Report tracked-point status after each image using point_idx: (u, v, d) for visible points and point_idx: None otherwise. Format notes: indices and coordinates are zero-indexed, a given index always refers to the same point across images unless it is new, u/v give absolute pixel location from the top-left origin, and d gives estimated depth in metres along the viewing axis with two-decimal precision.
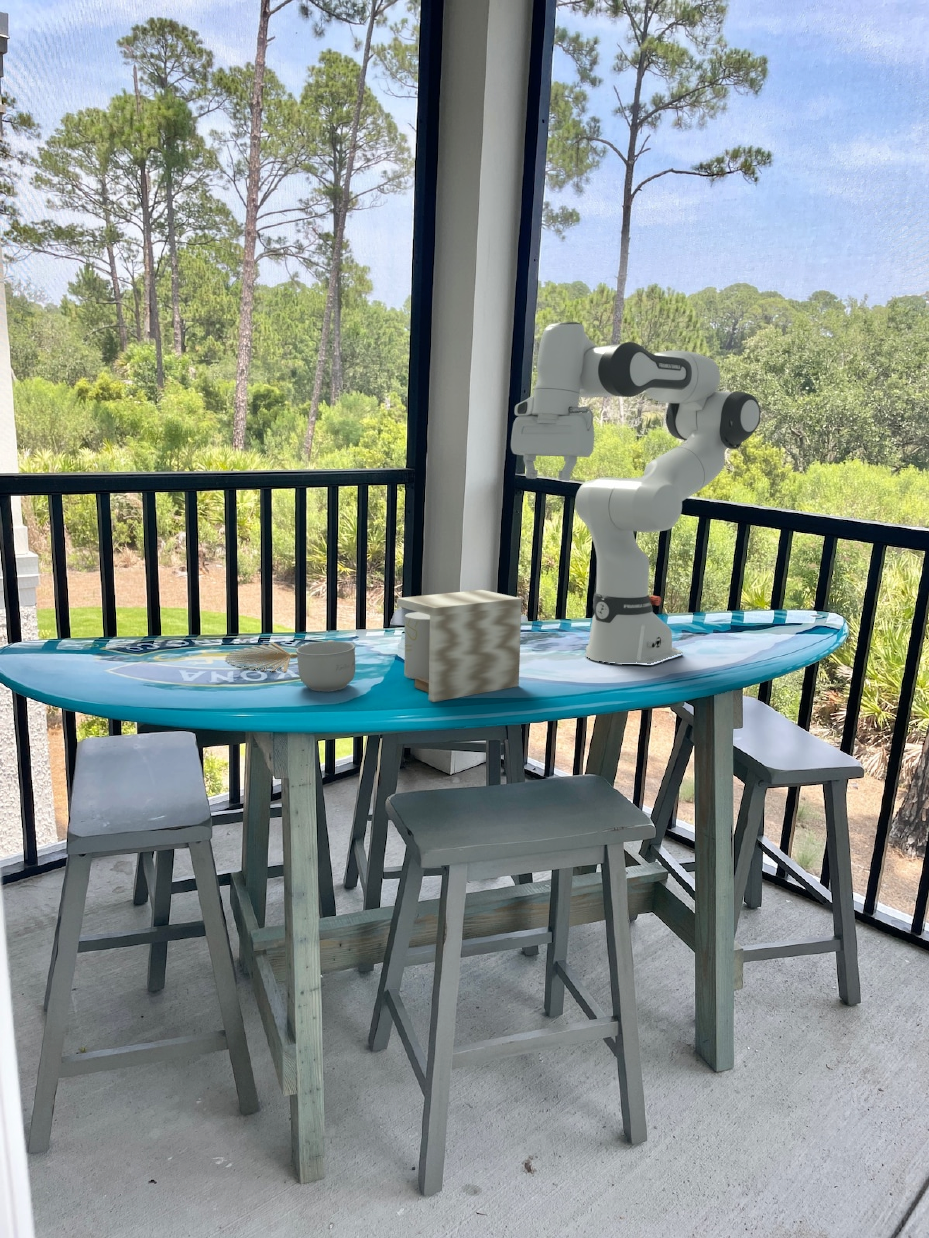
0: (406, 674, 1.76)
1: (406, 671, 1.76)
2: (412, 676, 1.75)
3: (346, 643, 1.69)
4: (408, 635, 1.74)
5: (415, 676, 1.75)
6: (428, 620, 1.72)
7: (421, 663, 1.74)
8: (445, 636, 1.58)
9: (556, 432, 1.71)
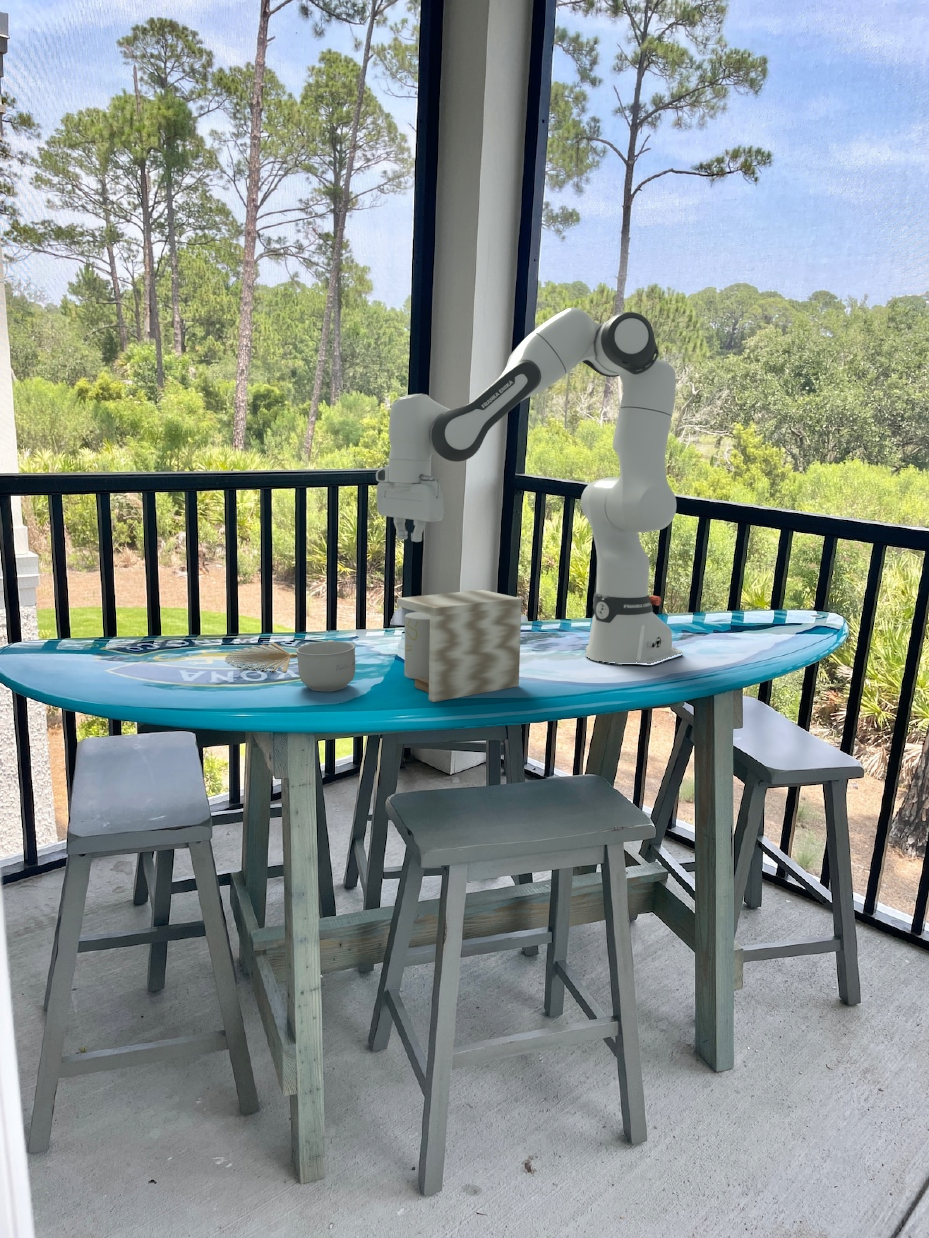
0: (406, 674, 1.76)
1: (406, 671, 1.76)
2: (412, 676, 1.75)
3: (346, 643, 1.69)
4: (408, 635, 1.74)
5: (415, 676, 1.75)
6: (428, 620, 1.72)
7: (421, 663, 1.74)
8: (445, 636, 1.58)
9: (411, 499, 1.84)
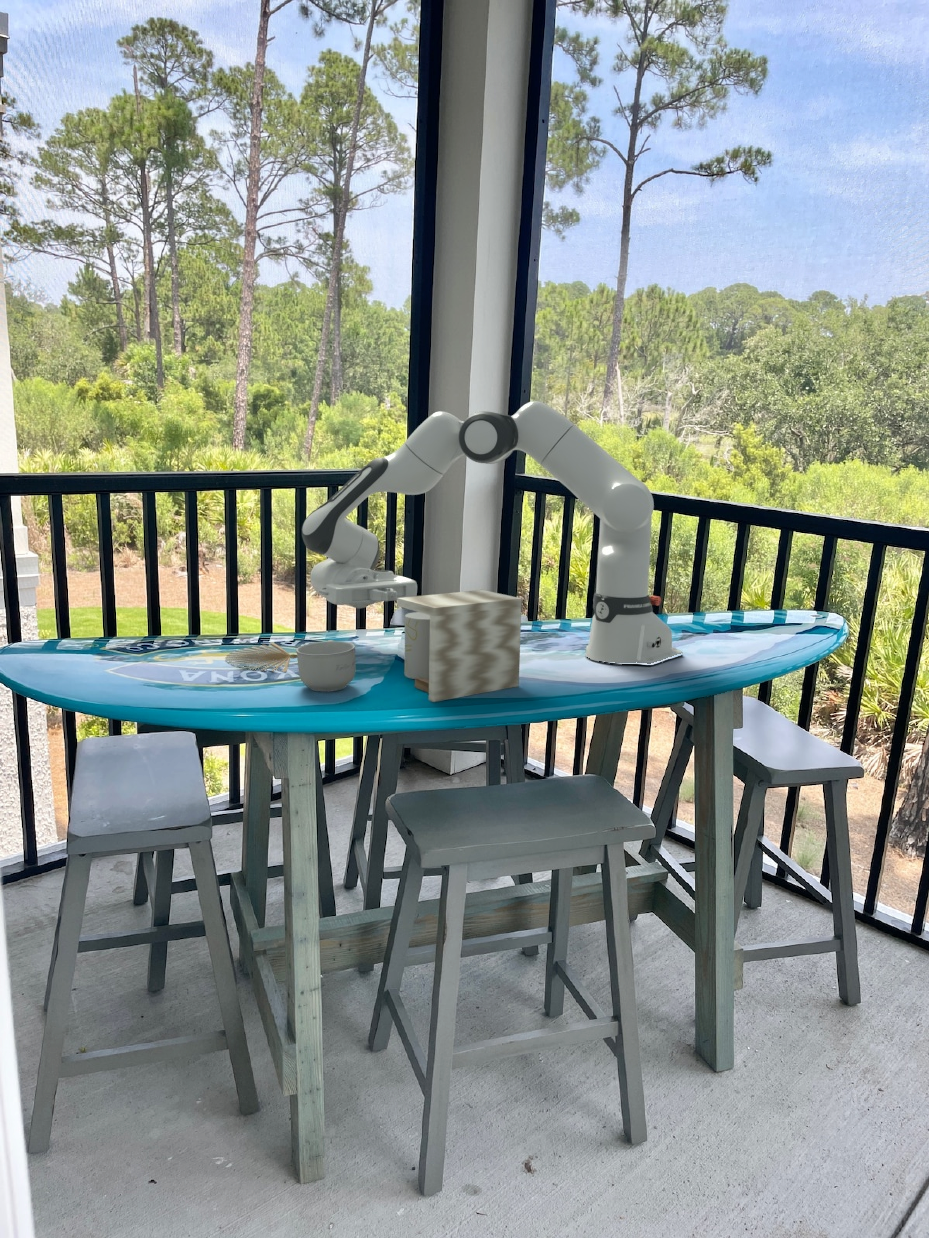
0: (406, 674, 1.76)
1: (406, 671, 1.76)
2: (412, 676, 1.75)
3: (346, 643, 1.69)
4: (408, 635, 1.74)
5: (415, 676, 1.75)
6: (428, 620, 1.72)
7: (421, 663, 1.74)
8: (445, 636, 1.58)
9: None
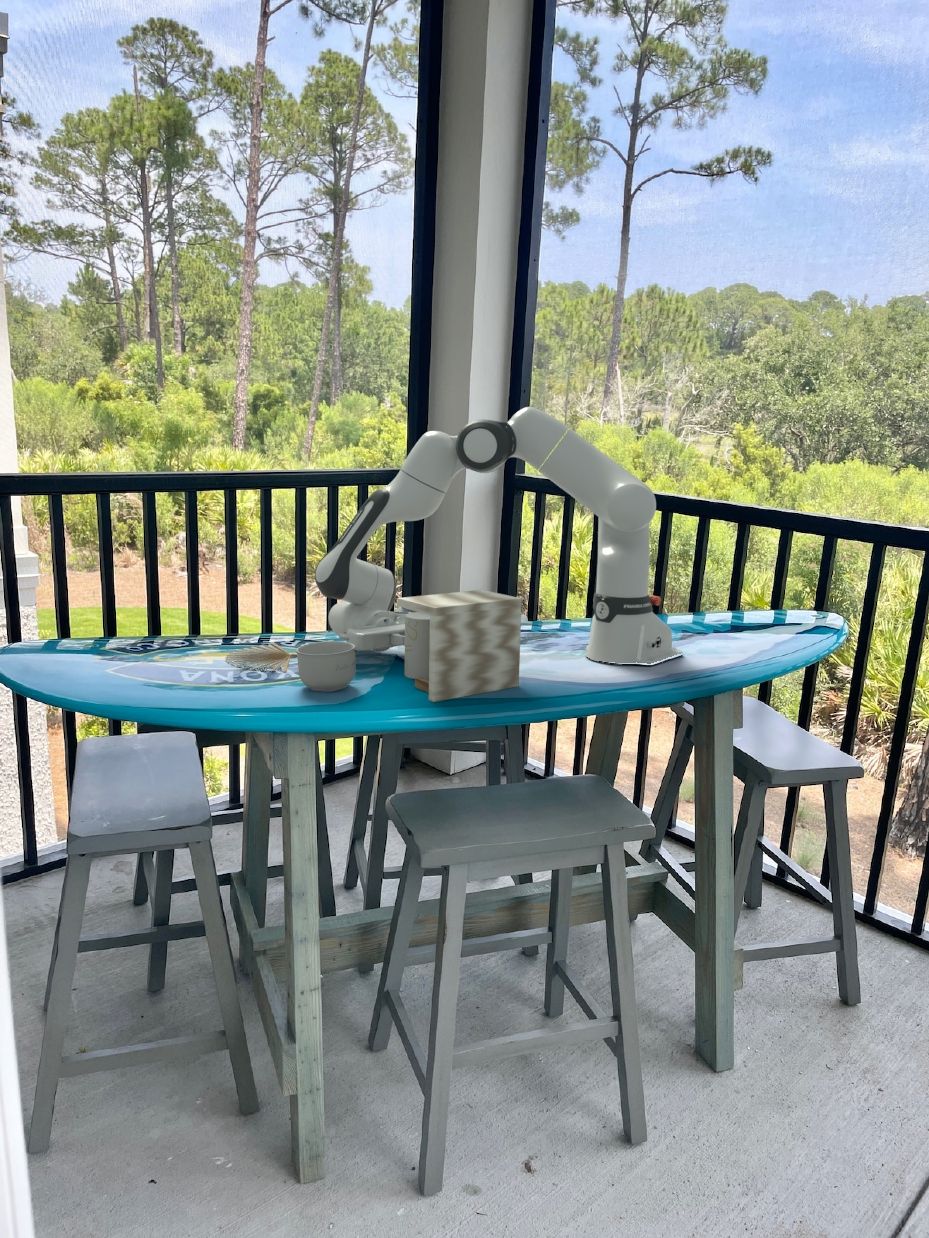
0: (406, 674, 1.76)
1: (406, 671, 1.76)
2: (412, 676, 1.75)
3: (346, 643, 1.69)
4: (408, 635, 1.74)
5: (415, 676, 1.75)
6: (428, 620, 1.72)
7: (421, 663, 1.74)
8: (445, 636, 1.58)
9: None
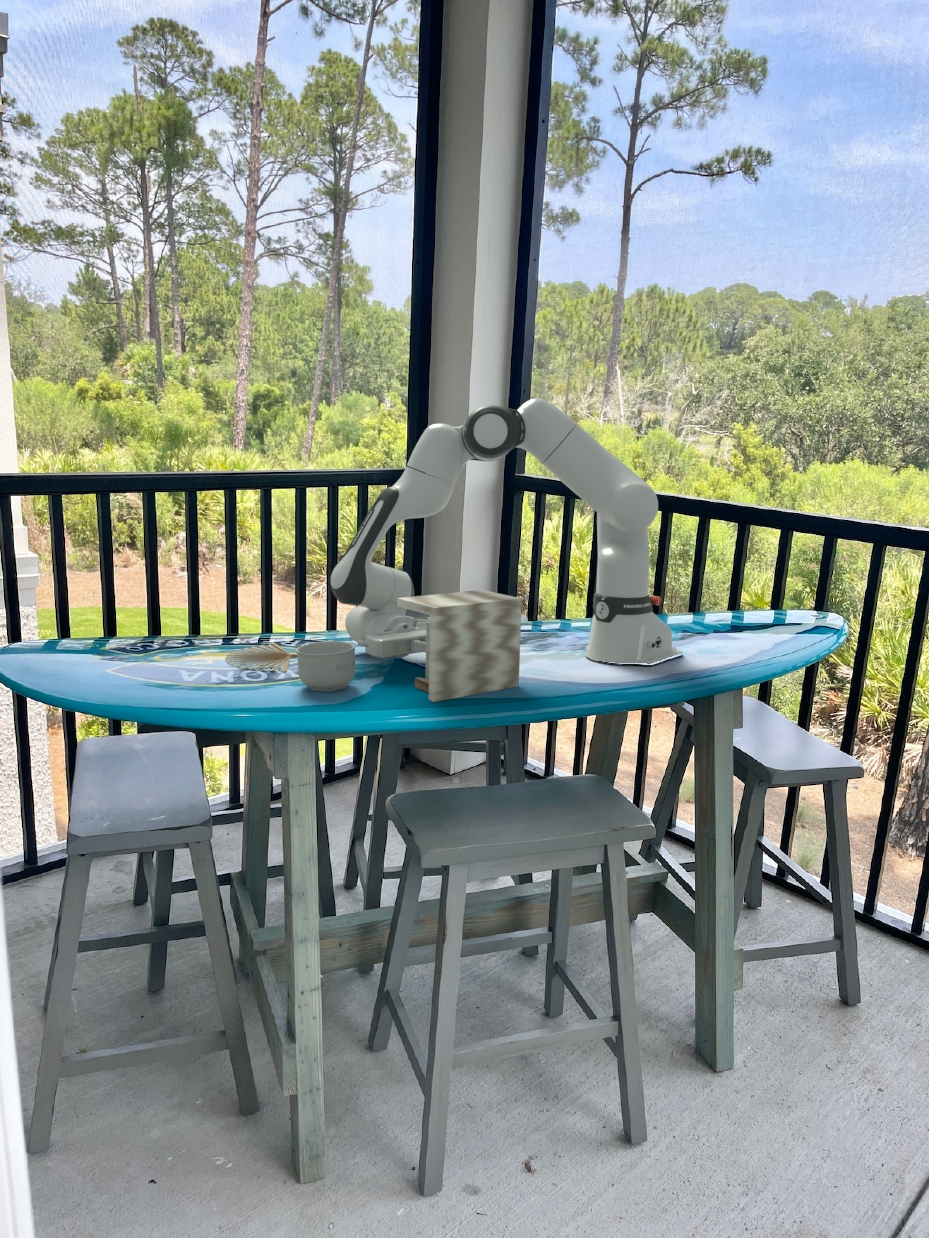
0: None
1: (427, 679, 1.71)
2: None
3: (346, 643, 1.69)
4: None
5: None
6: None
7: None
8: (445, 636, 1.58)
9: None
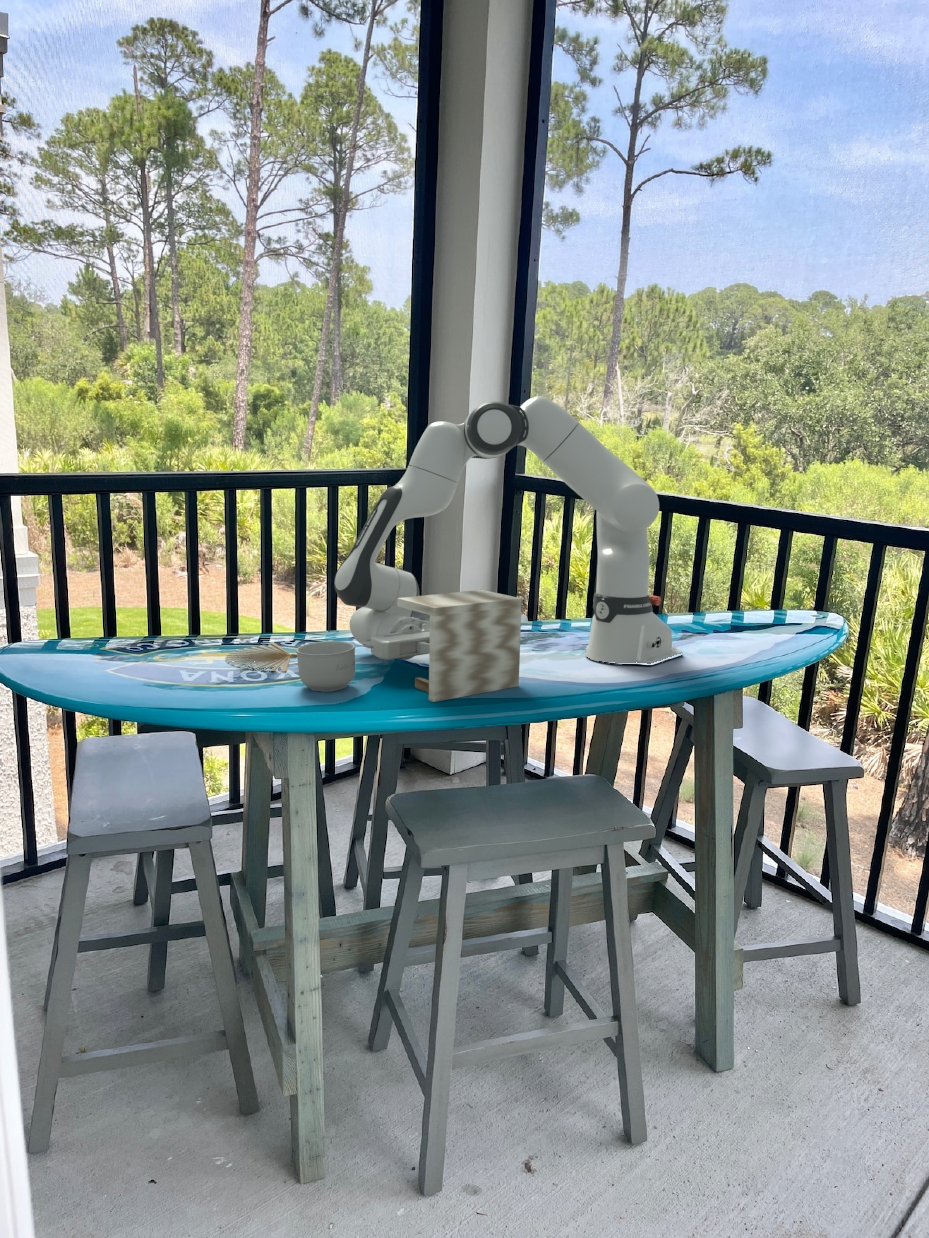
0: None
1: None
2: None
3: (346, 643, 1.69)
4: None
5: None
6: None
7: None
8: (445, 636, 1.58)
9: None
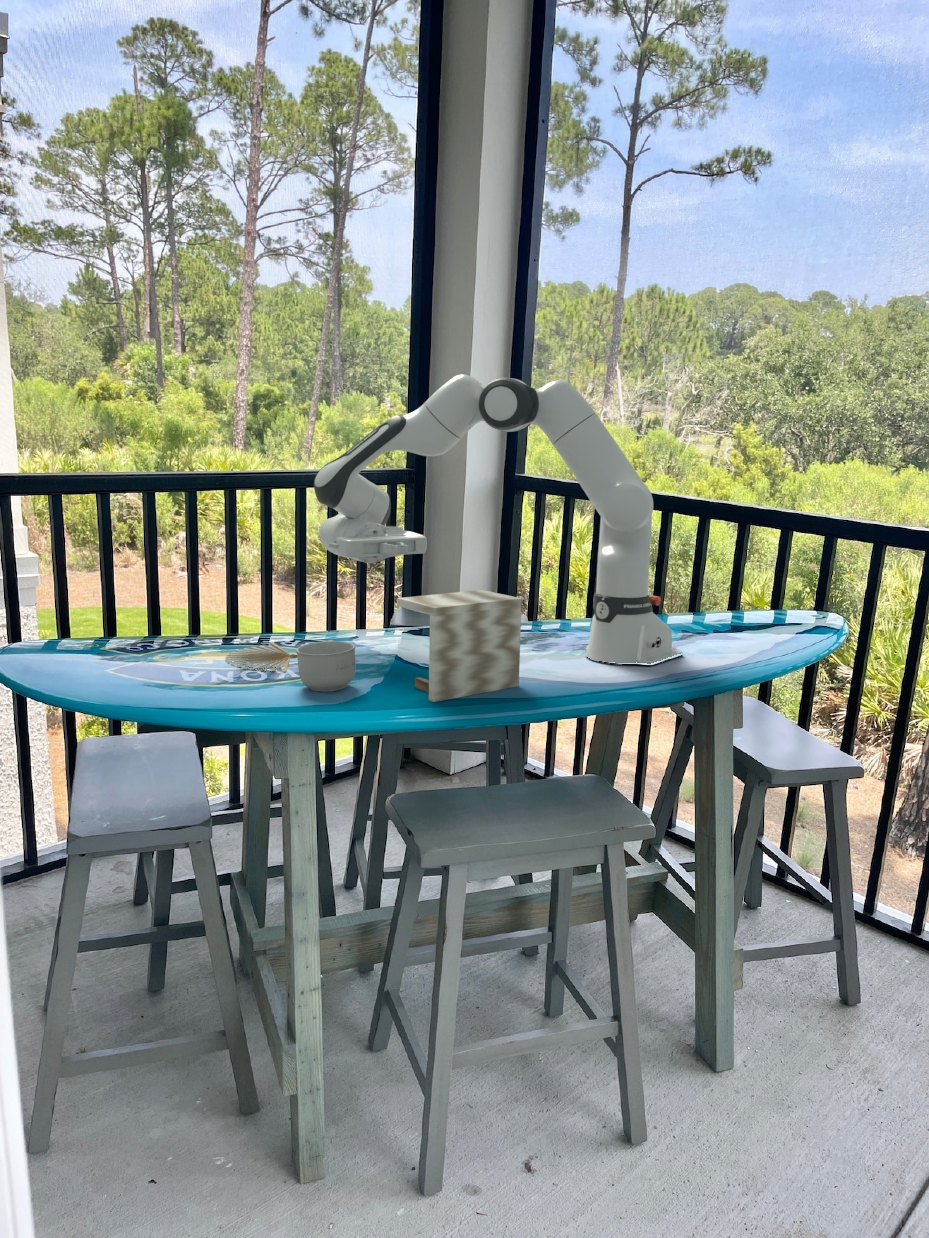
0: None
1: None
2: None
3: (346, 643, 1.69)
4: None
5: None
6: None
7: None
8: (445, 636, 1.58)
9: None
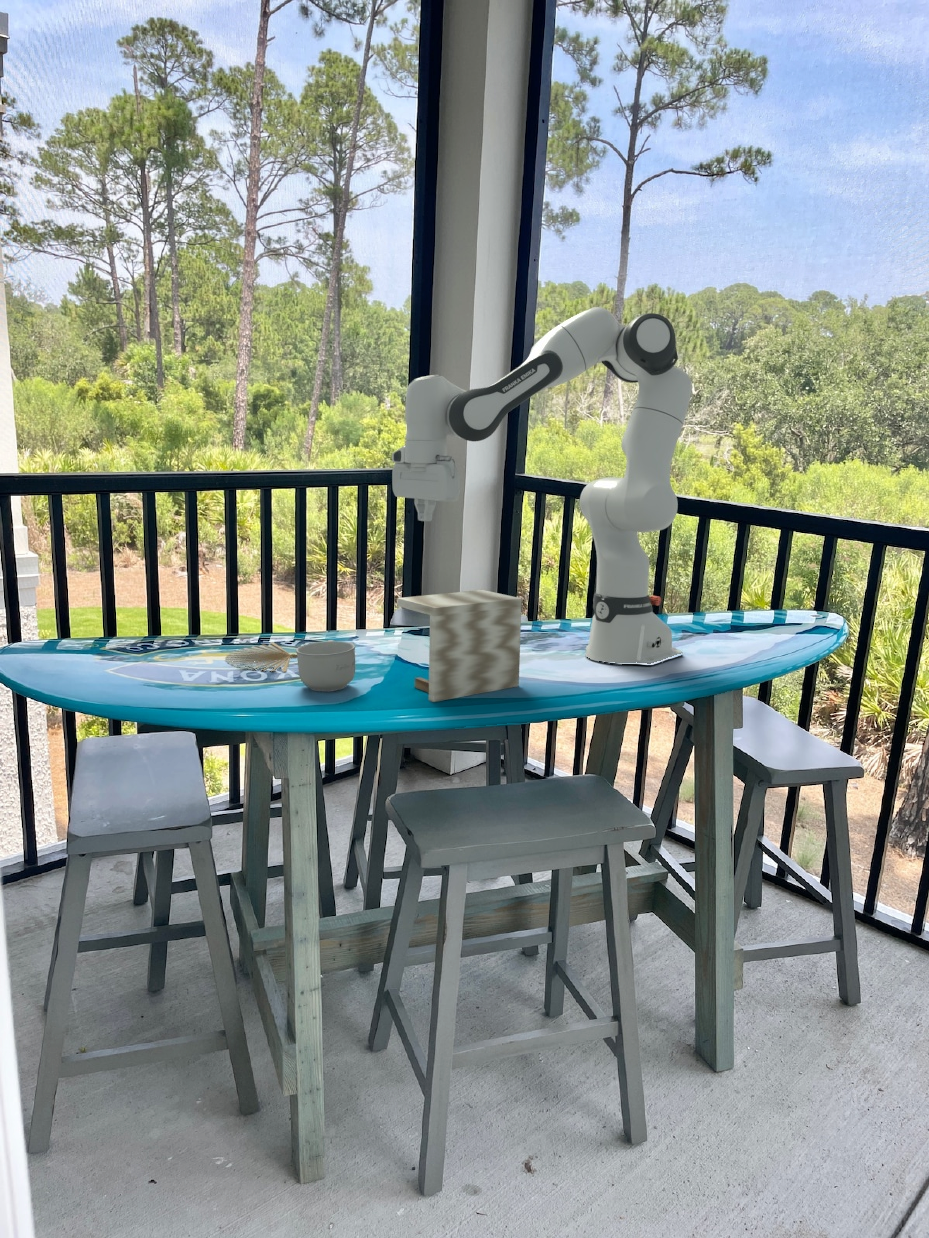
0: None
1: None
2: None
3: (346, 643, 1.69)
4: None
5: None
6: None
7: None
8: (445, 636, 1.58)
9: (427, 479, 1.86)
